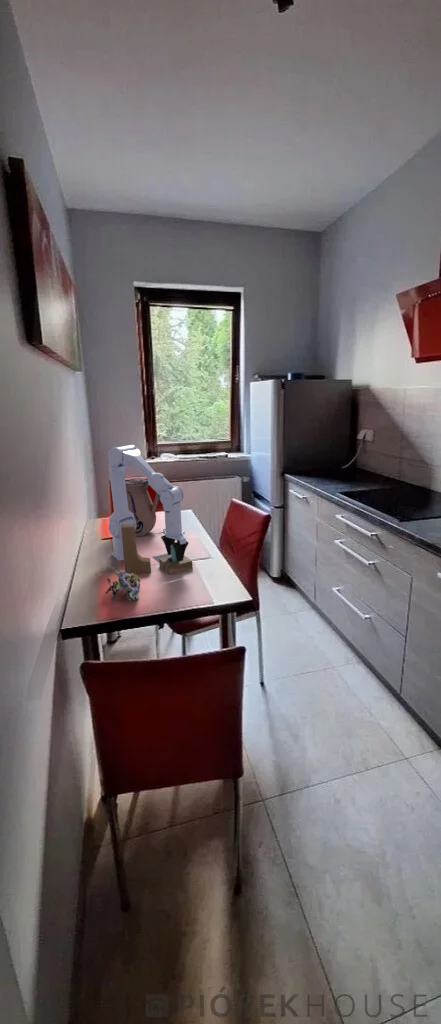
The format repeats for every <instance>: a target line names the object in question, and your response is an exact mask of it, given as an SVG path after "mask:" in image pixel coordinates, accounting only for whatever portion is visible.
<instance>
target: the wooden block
mask: <svg viewBox="0 0 441 1024" xmlns="http://www.w3.org/2000/svg"><path fill="white" fill-rule="evenodd" d="M121 533H122V543H123V554H124V560H123V563H124V572H125V573H126V572H127V573H130V574H131V573H133V574H134V572H135V573H136V575H142V574H143V575H144V574H151V573H152V566H151V565H152V563H151V558H150V557H145V556H144V557H143V556H142V555H140V554H139V552H138V549H137V538H136V537H137V536H135V524H122V525H121Z"/></svg>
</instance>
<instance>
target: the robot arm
mask: <svg viewBox="0 0 441 1024" xmlns="http://www.w3.org/2000/svg"><path fill="white" fill-rule="evenodd" d="M141 454H142V453H141V450H140V449H139V448H138V447H137V446H136V445H134V444H128V445H123V446H116V447H115V446H114V447H111V449H109V451H108V452H107V459H108V474H109V480H110V481H109V482H110V488H111V489H110V490H111V495H112V498H111V499H112V506H113V512H112V514H111V515H110V516H109V518H108V521H109V522H108V530H109V534H111V536H112V547H113V552H111V553H110V554H111V555H112V556H114V558H115V559H116V560H118V561H119V562H120V561H124V554H123V543H122V533H121V525H122V524H135V529H136V521H135V519H134V514H133V513H132V512H130V511H129V510H128V501H127V493H126V484H125V480H126V477H125V470H126V469H127V468H128V466H130V467H134V468H135V469H136V470H137V471H138V472H140V473H141V474H142V475H143V476H144V477H145V479H148V484H149V486H150V487H151V489H152V490H153V491H154V492H155V493H156V492H157V493H158V495H159V496H160V498H159V501H160V502H161V504H162V510H163V511H164V525H165V528H163V529H162V531H163V534H164V535H162V536H160V539H161V540H162V542H163V544H164V547H165V549H166V554H167V553H168V555H171V545H173V547H174V550H175V554H176V559H177V561H182V560H183V558H184V556H185V553H186V549H187V547H188V546H189V541H188V540H187V538H186V537H185V534H186V531H184V530H183V529H182V528H183V526H182V525H183V523H182V508H181V502H182V501H183V499H184V493H183V490H182V489H181V488H180V487H179V486H177V485H174V484H172V483H170V481H169V480H168V479H167V477H166V478H165V475H164V474H163V473H161V472H156V471H155V470H154V469H153V468H152V467H151V466H150V464H149V463H148V462H147V461H146V460H145V459H144V458H143V456H142V455H141Z"/></svg>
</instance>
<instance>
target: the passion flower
mask: <svg viewBox="0 0 441 1024" xmlns="http://www.w3.org/2000/svg"><path fill="white" fill-rule="evenodd" d="M114 573H115V575H116V577H117V579H118V580H113V581H111V579H110V578H109V577H108V578H107V579H106V582H107V583H108V585H109V587H108V589H107V590H106V591H105V594H106V595H107V594H109V592H111V593H112V594H111V600H113V599H114V597H115V596H116V595H117V593H118V592H119V591H121V592H122V591H126V593H127V594H126V599H128V600H131V601H133V602H135V601H139V600H140V597H139V593H140V592H141V578H140V577H139V576H138V574H136V573H135V572H134V574H133V573H131V574H130V573H127V572H126V573H125V571H124V572H123V571H122V569H120V570H119V572H118V571H117V570H114ZM111 582H112V584H111ZM114 589H115V590H114Z"/></svg>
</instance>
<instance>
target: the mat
mask: <svg viewBox="0 0 441 1024" xmlns="http://www.w3.org/2000/svg"><path fill="white" fill-rule="evenodd" d="M168 556H171V555H168V553H167V552H166V553H164V554H159V555H156V556H152V559H154V560H155V561H157V562H158V563H159V559H160V558H164V557H168Z"/></svg>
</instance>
